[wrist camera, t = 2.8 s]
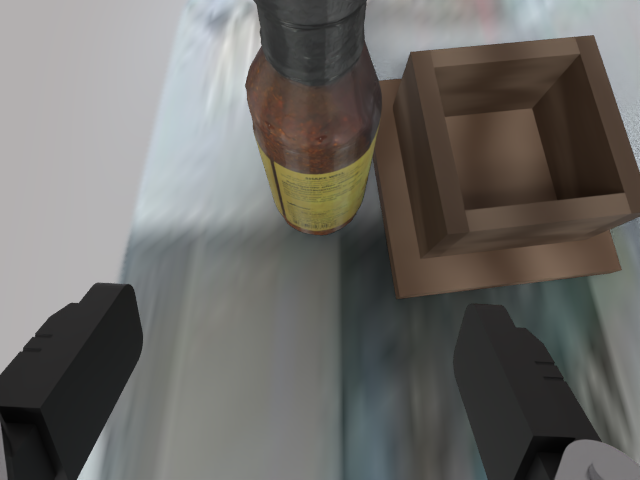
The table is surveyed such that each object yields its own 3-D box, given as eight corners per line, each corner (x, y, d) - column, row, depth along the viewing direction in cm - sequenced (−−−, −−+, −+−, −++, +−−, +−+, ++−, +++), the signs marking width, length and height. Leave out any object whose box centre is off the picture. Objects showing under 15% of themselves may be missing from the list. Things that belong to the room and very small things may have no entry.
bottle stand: (550, 73, 35) (610, 1, 28) (609, 273, 30) (698, 247, 24) (361, 91, 34) (375, 22, 27) (396, 299, 30) (422, 280, 23)
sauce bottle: (379, 198, 32) (484, -50, 12) (315, 257, 30) (323, 82, 11) (316, 138, 33) (323, -175, 14) (252, 192, 32) (162, -68, 12)
